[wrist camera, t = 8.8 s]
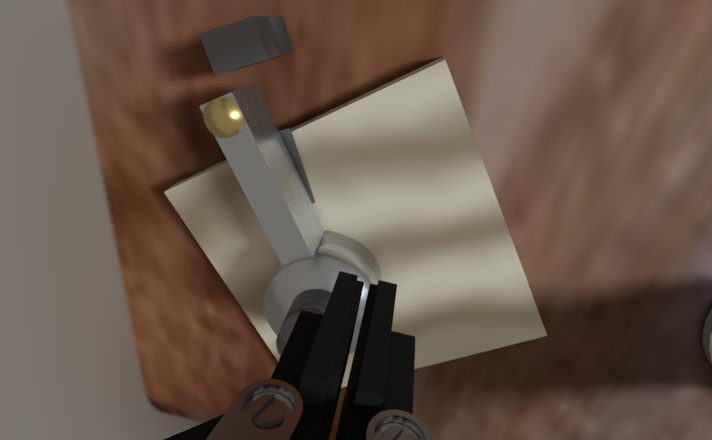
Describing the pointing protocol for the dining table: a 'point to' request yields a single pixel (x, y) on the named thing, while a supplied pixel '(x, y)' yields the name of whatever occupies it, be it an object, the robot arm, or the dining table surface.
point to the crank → (285, 215)
